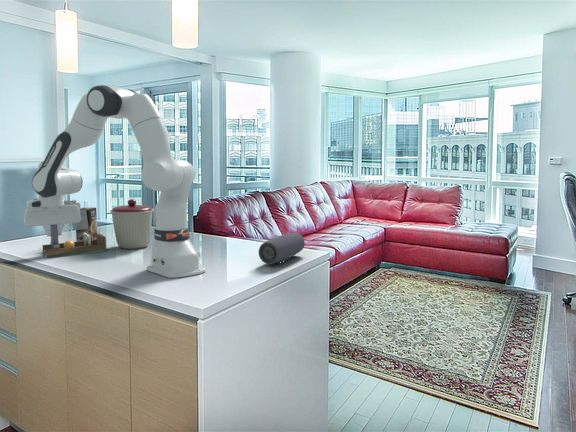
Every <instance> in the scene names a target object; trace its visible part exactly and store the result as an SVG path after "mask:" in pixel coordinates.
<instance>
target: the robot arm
mask: <svg viewBox="0 0 576 432" xmlns="http://www.w3.org/2000/svg"><path fill="white" fill-rule="evenodd" d="M109 118H113V119H119V120H120V119H126V120H127V121H128V122H129V125H130V127H131V130H132V132H133V134H134V136H135V138H136V141H137V143H138V146H139V149H140V151H141V156H142V161H143V162H142V163H143V167H142V169H141V174H140V175H141V176H140V177H141V181H142V183H143V184H144V186H145V187H146V188H147V189H149V190H152V191H156V192H160V195H159V199H158V200H157V203H156V204H155V206H154V222H155V223H154V224H155V225H154V226H155V228H154V230H153V231H154V232H153V235H154V241H153V244H152V245H151V246H150V265H148V266H146V271H148V272H152V273H154V274H157V275H160V276H163V277H166V278H173V279H174V278H183V277H184V278H185V277H191V276H195V275H200V274H203V273H205V272H206V271H207V270H206V268H205V267H204V266H203V265H202V264H201V263H200V262H199V258H200V257H201V252H200V251H199V250H196V247H195V246H194V245H193V244H192V242H191V240H190V238H191V237H190V231H189V227H188V216H187V215H188V201H189V196H190V192H191V186H192V183H193V182H194V181H195V177H196V170H195V168H194V166H193V164H192V163H190V162H188V161H186V160H184V159H180V158H173V155H172V151H171V142H172V137H171V135H170V133H169V131H168V128H167V125H166V123H165V121H164V119H163V117H162V114H161V113H160V110H159V109H158V108H157V106H156V104H155V103H154V101H153V100H152V98H151V97H150V96H149V95H148V94H147V93H144V92H143V93H142V92H141V93H139V92H137V91H135V90H133V89H130V88H128V89H127V88H123V87H120V86H116V85H115V86H114V85H102V84H101V85H95V86H93V87H91V88H90V89H89V90H88V91H87V93H85V94H83V95H82V97H81V98H80V100H79V102H78V104H77V106H76V108H75V110H74V112H73V115H72V118H71V120H70V121H69V123H68V125H67V126H66V127H65V128H64V130H62V132H61V133H60V134H59V133H58V135H57V136H56V138H55V139H54V141H53V143H52V144H51V146H50V148H49V150H48V152H47V153H46V156H45V158H44V160H43V161H42V162H40V163H38V165H37V166H38V167H37V170H36V172H35V173H34V174H33V176H32V179H31V187H32V189H33V191H34V192H35V194H37V195H38V197H36V198H33V199H30V200H27V201H26V208H25V210H24V214H23V224H24V225H25V226H26V228H27V227H29V228H30V227H39V226H40V227H41V226H42V228H43V229H44V231H45V232H46V236H47V237H51V231H50V230H48V229H47V228H48V226H50V225H55V224H57V225H59V228H58V236H62V235H63V230H64V228H65V225H66V224H67V225H68V224H76V223H79V222H80V221H81V216H80V211H79V210H80V208H82V207H81V203H80V202H79V201H78V200H76V199H73V200H65V195H73V194H76V193H80V191H81V189H82V188H83V178H82V174H80V172H79V171H77V170H75V169H74V170H73V169H71V168H69V167H66V166H64V165H63V164H64V162H65V161H66V159H67V157H68V156H70V155H71V154H72V153H74V152H76V151H78V150H81V149H83V148H87V147H90V146H93V145H94V144H96V143H97V142H98V141H99V139H100V138H101V136H102V133H103V131H104V128H105V125H106V123H107V120H108V119H109Z"/></svg>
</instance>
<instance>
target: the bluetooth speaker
mask: <svg viewBox="0 0 576 432" xmlns="http://www.w3.org/2000/svg"><path fill="white" fill-rule="evenodd" d="M305 244H306V243H305V239H304V237H303V235H302V234H300V233H299V232H289V233H285V234H282V235H279V236H276V237H273V238H271V239H268V240H266V241H264V242H262V243H261V244H260V246H259V249H258V257H259V259H260V260H261V262H262V263H264V264H266V265H272V264H275V263H280V262H283V261H286V260H288V259H290V258H291V259H292V257H293V256H296V255H297V254H299V253H300V252H302V251H303V249H304V248H305ZM291 259H290V260H291ZM288 261H289V260H288ZM286 262H287V261H286Z"/></svg>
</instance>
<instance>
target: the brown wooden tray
mask: <svg viewBox="0 0 576 432" xmlns="http://www.w3.org/2000/svg"><path fill="white" fill-rule="evenodd" d="M83 234H84V235H83V238H84V241H78V242H77V241H73V242H74V244H75V246H74V247H69V248H64V243H65V242H62V243H61V242H60V243H58V244H59V246H60V249H51V244H42V254H44V256H45V257H46V258H47V259H50V258H51V259H52V258H59V257H67V256H68V257H69V256H76V255H84V254H93V253H100V252H101V253H102V252H107V240H106V239H107V238H106V236H105V235H103V234H101V233H100V232H98V233H96V240H91V236H90V235H88V234H87V233H83ZM87 237H88V241H87Z"/></svg>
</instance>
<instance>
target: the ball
mask: <svg viewBox="0 0 576 432" xmlns="http://www.w3.org/2000/svg"><path fill="white" fill-rule="evenodd" d="M74 242H75V241H73V240H71V239H70V240H69V239H68V240H66V241H64V242H63V243H64V248H69V247H74V246H75V244H74Z"/></svg>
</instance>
